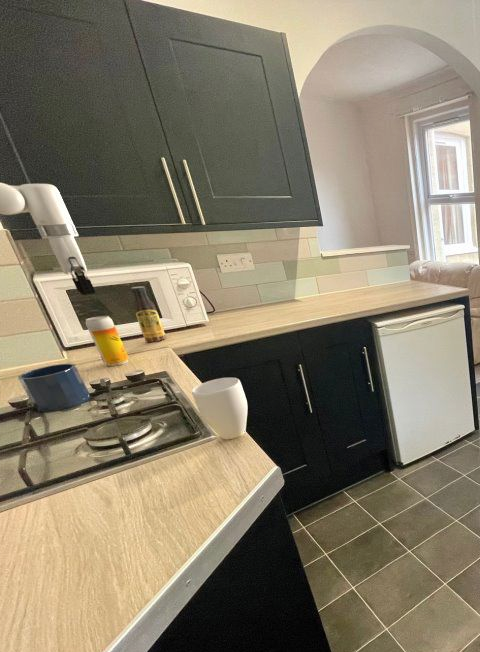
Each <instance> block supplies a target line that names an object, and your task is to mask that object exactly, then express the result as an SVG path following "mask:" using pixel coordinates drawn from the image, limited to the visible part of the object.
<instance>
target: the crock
mask: <svg viewBox="0 0 480 652" xmlns="http://www.w3.org/2000/svg"><path fill="white" fill-rule="evenodd" d="M17 378H18V381H19V382H20V384H21V386H22V388H23V390H24V391H25V393H26V395H27V396H28V398H29V401H30V402H31V404H32V405H33V407H34V409H36V408H38V409H39V410H40V411H41V412H40V413H51V412H58V411H62V410H66V409H71V408H73V407H76V406H79V405H82V404H83V403H85V402H87V401H89V400H90V399H91V398H92V396H91V394H90V392H89V390H88V388H87V386H86V384H85V382H84V380H83V377H82V376H81V373H80V371H79V370H78V368H77V366H76V364H75V363H58V364H52V365H48V366H43V367H38V368H35V369H31V370H29V371H26V372H24V373H22V374H20V375H18V376H17Z"/></svg>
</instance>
